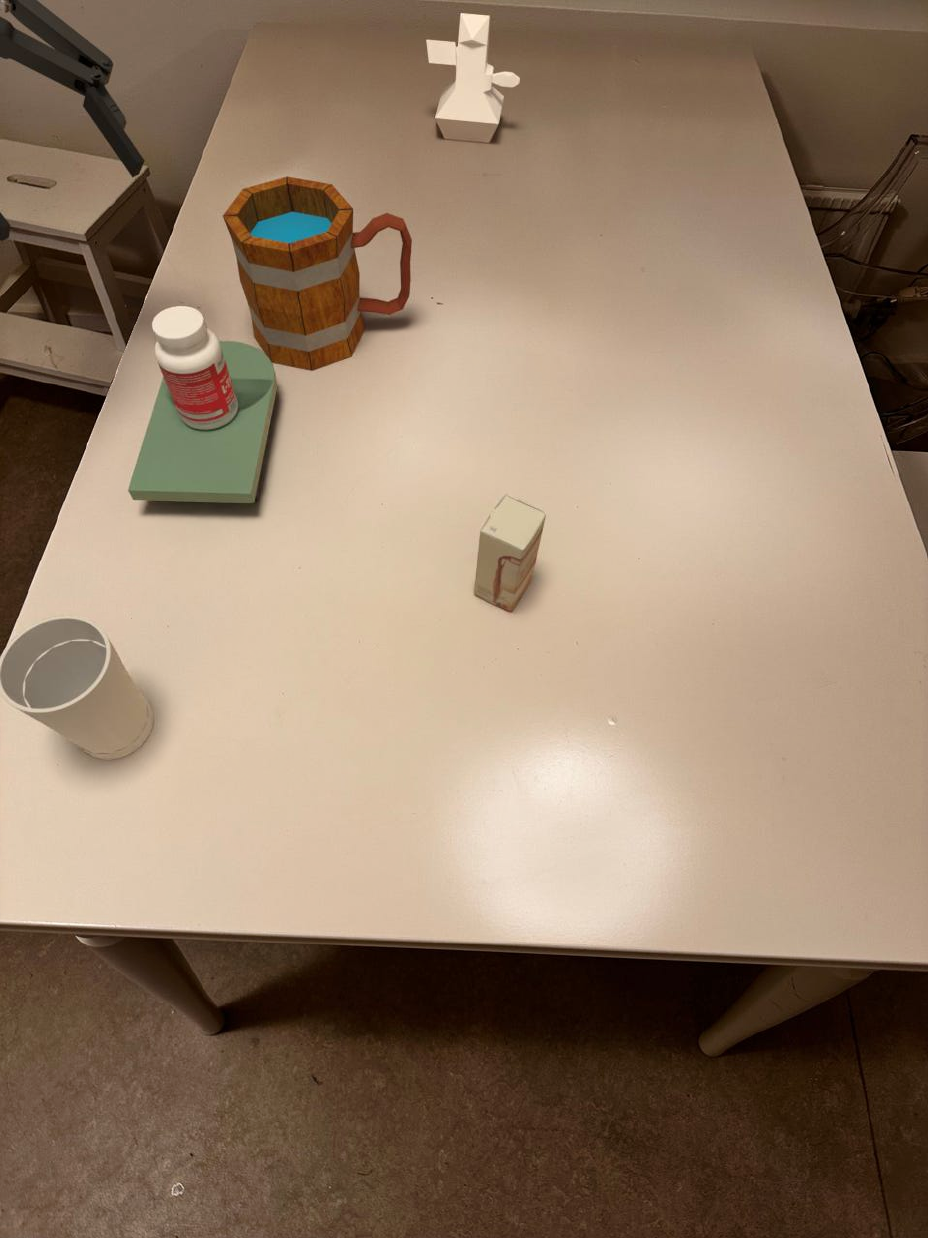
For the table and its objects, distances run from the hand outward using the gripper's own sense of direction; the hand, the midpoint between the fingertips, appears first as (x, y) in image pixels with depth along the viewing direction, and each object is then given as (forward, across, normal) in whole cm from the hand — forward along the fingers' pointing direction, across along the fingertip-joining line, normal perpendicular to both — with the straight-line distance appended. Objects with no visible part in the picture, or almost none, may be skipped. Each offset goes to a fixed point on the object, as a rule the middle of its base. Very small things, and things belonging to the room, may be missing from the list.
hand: (75, 200), depth 66 cm
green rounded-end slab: (+23, 0, -8) cm, 25 cm away
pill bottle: (+20, 0, -6) cm, 21 cm away
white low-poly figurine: (+8, -68, -23) cm, 72 cm away
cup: (+37, +28, +5) cm, 47 cm away
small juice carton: (+48, -6, +17) cm, 52 cm away
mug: (+21, -21, -11) cm, 32 cm away
